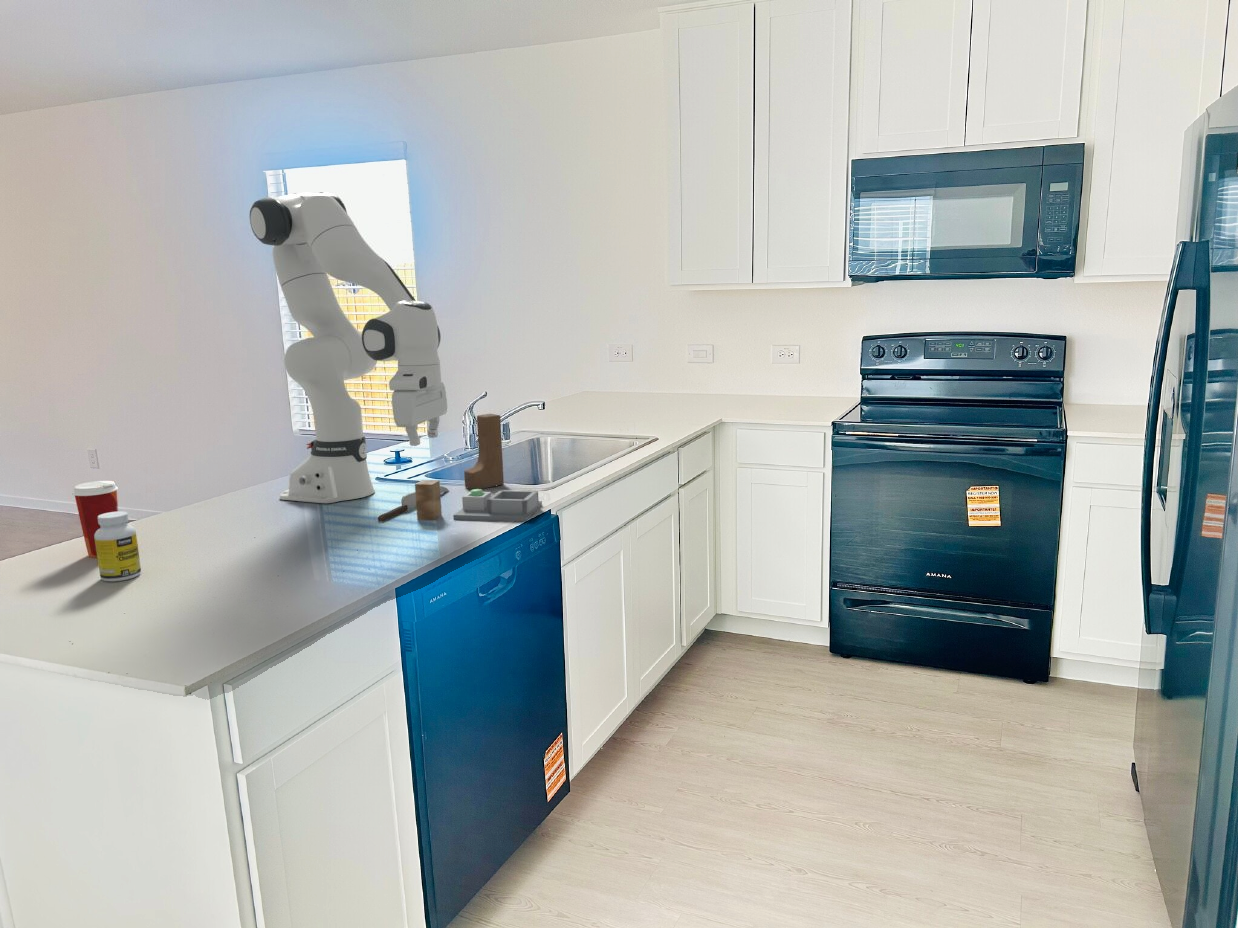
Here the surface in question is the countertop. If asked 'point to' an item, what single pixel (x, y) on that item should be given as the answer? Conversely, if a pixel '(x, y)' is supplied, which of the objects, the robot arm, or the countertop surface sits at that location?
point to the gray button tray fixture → (499, 506)
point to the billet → (428, 500)
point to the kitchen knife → (404, 505)
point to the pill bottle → (117, 547)
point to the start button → (476, 492)
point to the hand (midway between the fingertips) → (424, 441)
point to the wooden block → (487, 455)
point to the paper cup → (94, 508)
